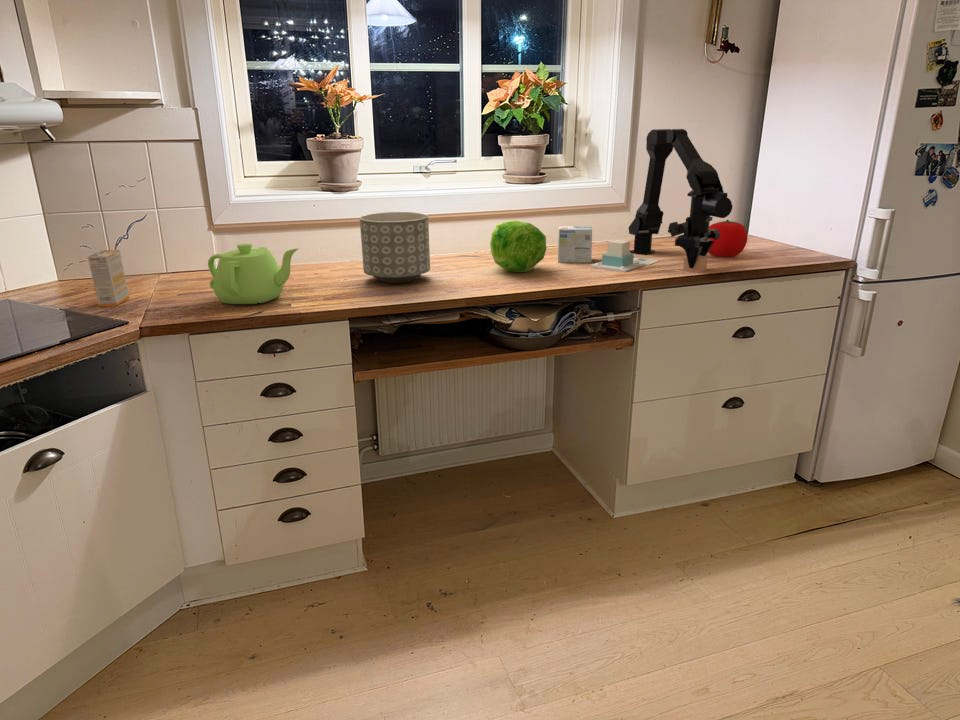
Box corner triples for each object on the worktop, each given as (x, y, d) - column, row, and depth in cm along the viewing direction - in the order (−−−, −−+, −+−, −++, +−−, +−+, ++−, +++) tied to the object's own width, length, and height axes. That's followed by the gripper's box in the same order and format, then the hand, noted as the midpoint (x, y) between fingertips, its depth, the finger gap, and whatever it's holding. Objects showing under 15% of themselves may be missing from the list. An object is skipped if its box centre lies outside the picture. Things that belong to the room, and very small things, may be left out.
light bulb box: (590, 258, 220) (592, 225, 217) (591, 263, 214) (593, 228, 210) (557, 258, 221) (558, 225, 218) (557, 262, 215) (558, 228, 211)
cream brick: (614, 252, 211) (615, 239, 210) (629, 254, 208) (630, 241, 207) (606, 254, 208) (607, 241, 206) (621, 256, 205) (622, 243, 203)
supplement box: (111, 298, 180) (101, 249, 175) (129, 298, 180) (120, 249, 176) (97, 307, 172) (86, 256, 168) (117, 306, 172) (106, 255, 168)
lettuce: (526, 269, 217) (530, 221, 214) (552, 276, 199) (556, 223, 195) (477, 267, 212) (480, 217, 209) (498, 274, 193) (502, 220, 190)
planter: (403, 269, 208) (399, 209, 202) (444, 279, 195) (442, 215, 189) (351, 280, 196) (346, 217, 190) (391, 291, 183) (387, 224, 177)
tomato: (717, 261, 214) (721, 224, 210) (695, 253, 226) (698, 218, 222) (753, 259, 217) (758, 222, 213) (729, 251, 229) (733, 216, 225)
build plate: (610, 260, 217) (610, 249, 216) (644, 265, 210) (645, 253, 209) (590, 266, 209) (590, 255, 207) (625, 272, 201) (625, 260, 200)
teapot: (204, 298, 180) (196, 243, 175) (277, 286, 191) (271, 234, 186) (227, 313, 166) (219, 254, 161) (305, 299, 177) (299, 244, 172)
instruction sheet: (630, 257, 221) (630, 256, 221) (658, 261, 215) (659, 260, 215) (619, 261, 216) (619, 260, 216) (648, 265, 210) (648, 264, 210)
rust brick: (690, 267, 206) (691, 254, 205) (706, 269, 203) (707, 256, 202) (683, 270, 203) (684, 257, 201) (699, 272, 200) (700, 259, 198)
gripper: (687, 207, 209) (682, 258, 214) (659, 215, 196) (655, 268, 201) (723, 210, 202) (717, 262, 208) (697, 218, 189) (691, 273, 194)
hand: (695, 266), depth 203 cm, fingers closed on rust brick, 5 cm apart
